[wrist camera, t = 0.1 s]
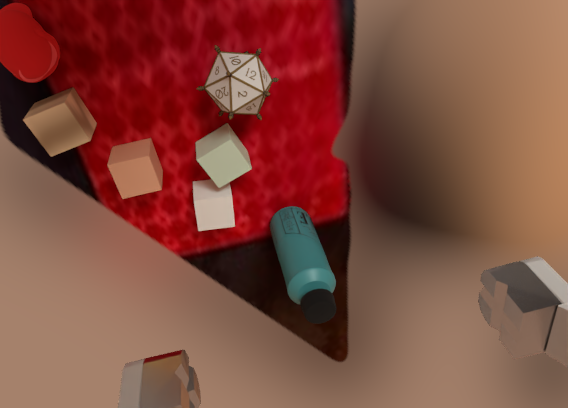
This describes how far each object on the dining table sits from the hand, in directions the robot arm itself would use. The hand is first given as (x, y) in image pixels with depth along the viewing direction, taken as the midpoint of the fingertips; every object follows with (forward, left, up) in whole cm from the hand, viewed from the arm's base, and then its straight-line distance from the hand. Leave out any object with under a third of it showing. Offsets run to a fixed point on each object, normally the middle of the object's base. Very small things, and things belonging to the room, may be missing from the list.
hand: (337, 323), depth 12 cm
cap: (0, -21, -48) cm, 53 cm away
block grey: (+25, -7, -48) cm, 55 cm away
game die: (+9, 0, -48) cm, 49 cm away
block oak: (+9, -21, -48) cm, 53 cm away
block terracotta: (+17, -15, -48) cm, 53 cm away
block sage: (+18, -4, -48) cm, 51 cm away
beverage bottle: (+32, +3, -48) cm, 58 cm away
